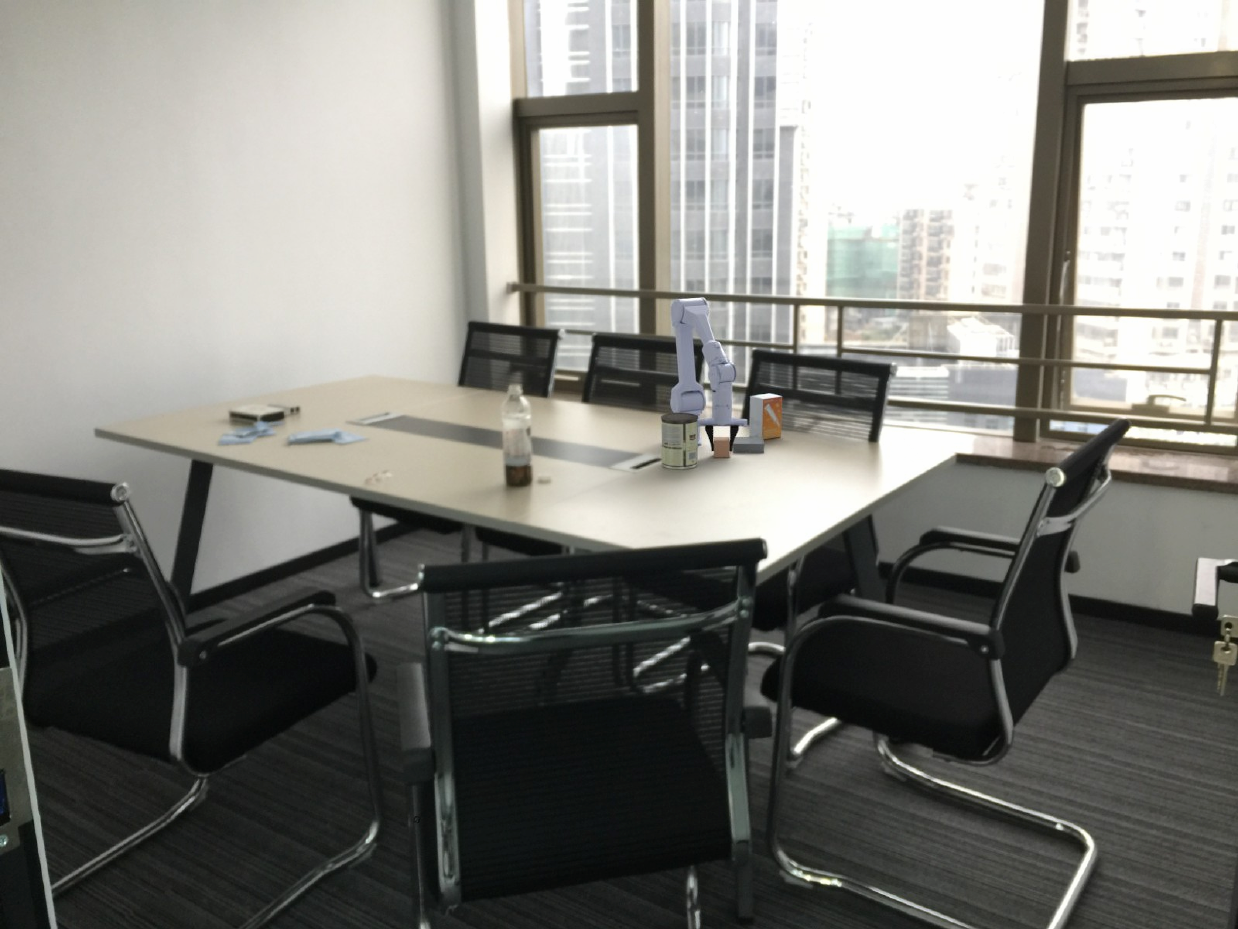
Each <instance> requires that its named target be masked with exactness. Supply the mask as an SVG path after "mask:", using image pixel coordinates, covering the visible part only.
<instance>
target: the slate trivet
mask: <svg viewBox="0 0 1238 929" xmlns="http://www.w3.org/2000/svg"><path fill="white" fill-rule="evenodd" d="M732 453H765V442H764V439H763V437H750V436H736V437H735V440H734V443H733V446H732Z"/></svg>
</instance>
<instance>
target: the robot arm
mask: <svg viewBox="0 0 1238 929" xmlns="http://www.w3.org/2000/svg"><path fill="white" fill-rule="evenodd" d="M709 313H710V307H709V302H708V300H706V298H705V297H702V296H701V297H695V298H694V297H693V298H691V297H690V298H675V299H674V300H673V302H672V304H671V306H670V317H671V326H672V327H673V328H674V330H675V332H674V334H675V346H676V357H677V358H676V360H677V372H678V373H677V374H678V383H677V384H675V386H673V387H672V389H671V394H670V395H671V396H670V402H669V404H670V405H669V406H670V408H671V410H672V413H691V414H695V415H697V416H698V419H697V446H698V445H699V446H700V445H701V446H702V437H701V427H704V430H705V432H706V435H707V437H708V441H709V443H710V450H711V452H714V427H729V439H730V452H733V443H734V440H735V437H737V435H738V432H739V430H740V427H744V428H748V419H746V418H736V417H735V418H733V383H734V382H735V381H736V379H737V374H738V373H737V368H736V366H735V364H734V362H732V361H731V360H730V359H728V358H727V354H726V353H725V351H724V349H723V347H722V344H721V343H720V342H719V341H717V340H715V336H714V333H713V331H712V328H711V324H710V321H709V318H708V317H709ZM693 329H694V331H695V332H696V333H697V335H698V337H699V339H700V341H701V343H702V345H703V346H702V348H701V352H702V354H703V357H704V360H705V362H706V364H707V366H708V368H709V370H708V373H707V374H708V379H709V383H710V384H709V386H710V390H712V391H711V392H712V394H711V396H712V398H711V399H712V400H711V418H701V415H702V414H703V411H704V410H705V409H706V406H707V398H706V395H705V392H704V386H702V385H701V384H700V383H699V382H697V380H696V379H697V378H696V366H695V363H696V362H695V353H694V352H695V351H694V350H695V349H694V338H693V336H694V335H693Z"/></svg>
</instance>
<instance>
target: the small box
mask: <svg viewBox="0 0 1238 929" xmlns="http://www.w3.org/2000/svg"><path fill="white" fill-rule="evenodd" d="M782 414H783V396H782V395H778V394H775V393H765V394H762V393H761V394H756V395H750V396H749V432H748V433H749V434H748V437H763V440H768V439H769V440H770V439H775V438H781V436H782Z"/></svg>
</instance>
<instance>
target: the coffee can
mask: <svg viewBox="0 0 1238 929" xmlns="http://www.w3.org/2000/svg"><path fill="white" fill-rule="evenodd" d="M697 419H698V416H697V415H695V414H691V413H674V412H670V413H665V414H662V415H661V416H660V420H661V467H663V468H665V469H671V470H690V469H694V468H695V467H697V466H698V464H699V463H698V445H697Z"/></svg>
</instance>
